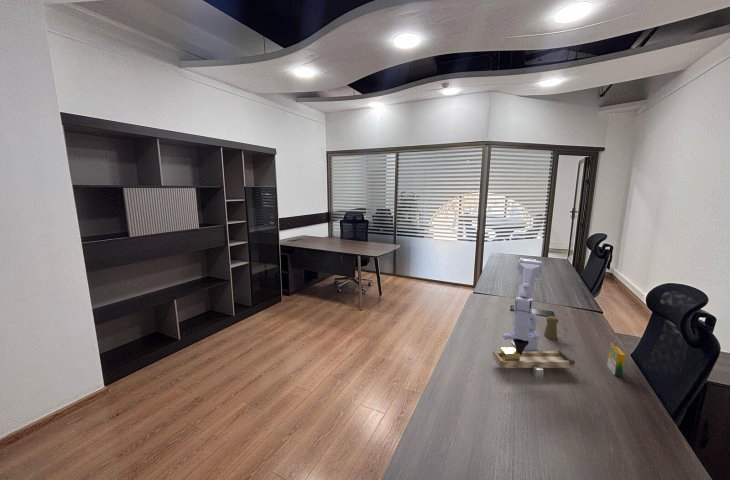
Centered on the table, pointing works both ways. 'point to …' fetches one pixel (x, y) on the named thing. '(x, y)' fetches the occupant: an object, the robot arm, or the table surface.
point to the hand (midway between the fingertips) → (519, 354)
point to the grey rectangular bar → (538, 372)
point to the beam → (537, 360)
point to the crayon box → (616, 360)
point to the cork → (551, 327)
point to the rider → (509, 354)
